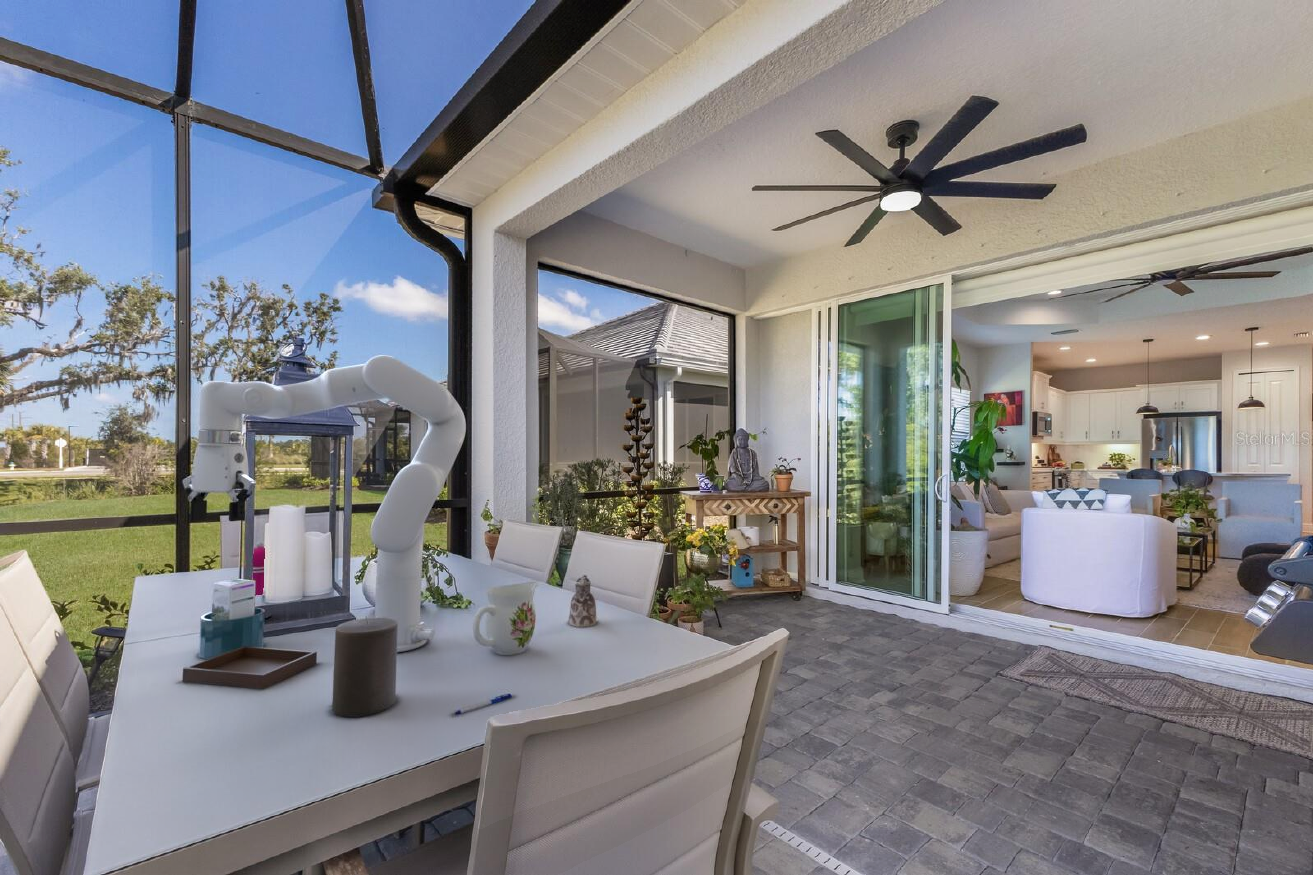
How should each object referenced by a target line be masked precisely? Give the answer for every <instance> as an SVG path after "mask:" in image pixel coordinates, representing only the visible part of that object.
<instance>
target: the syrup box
mask: <svg viewBox="0 0 1313 875" xmlns="http://www.w3.org/2000/svg"><path fill="white" fill-rule="evenodd" d="M211 596H212V597H211V601H212V602H211V612H212V620H227V619H236V618H243V617H248V616H252V615H254V608H255V581H253V580H249V579H243V578H231V579H225V580H221V581H218V582H214V583H212V595H211Z"/></svg>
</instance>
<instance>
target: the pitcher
mask: <svg viewBox="0 0 1313 875" xmlns="http://www.w3.org/2000/svg"><path fill="white" fill-rule="evenodd" d="M539 584H540V582H539V581H527V582H522V583H513V584H505V585H501V586H496V587H493V588H490V589H488V590H487V593H486V594H487V598H488V605H485V606H481V607H480V608H479V609H478V610H477V611H476V613H475V615H474V618H473V623H472V630H473V631H472V632H473V637H474V639H475V641H476V642H477V643H478V644H480V645H481V646H484V647H491V649H492V650H493V651H494V653H495V654H498V655H501V656H511V655H518V654H521V653H523V652H525V651H526V649H527V647H528V646H529V645H530V643H531V641H532V638H533V635H534V631H535V629H536V621H537V620H536V618H537V613H536V607H535V604H534V596H535V591H536V588H537V587H538V586H539ZM484 614H485V617H484V627H485V635H486V638H487V639H486V638H484V637H483V636H482V634H481V631H480V623H481V621H482V620H481V619H482V617H483V615H484Z"/></svg>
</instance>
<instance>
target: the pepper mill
mask: <svg viewBox="0 0 1313 875" xmlns="http://www.w3.org/2000/svg"><path fill="white" fill-rule="evenodd" d="M264 543H265V542H264V541H263V540H259V541H257V543H256V546H255V547H253V548H254V554H253V581H255V596H256V595H262V594H263V588H264V559H265V548H264V547H265V545H264Z"/></svg>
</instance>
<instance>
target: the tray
mask: <svg viewBox="0 0 1313 875" xmlns="http://www.w3.org/2000/svg"><path fill="white" fill-rule="evenodd" d="M317 660H318V651H311V650H300V649H287V648H273V647H264V646H263V647H250V646H243V647H240V648H238V649H235V650H232V651H229V652H227V653H224V654H221V655H218V656H216V657H213V658H210V659H204V660H202V661H199V662H197V663H193V664H191V665H188V666H186V667H183V668H182V680H181V682H183V683H190V684H191V683H192V684H193V683H194V684H204V685H214V686H225V687H235V688H247V689H258V690H264V689H265V688H268V687H270V686H272V685H274V684H277V683H279V682H281V681H283V680H285V679H287V678H289V677H292V676H294V675H297V674H298V673H300V672H303V671H304V670H307V669H308V668H311V667H313V666H315V665H317Z"/></svg>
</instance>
